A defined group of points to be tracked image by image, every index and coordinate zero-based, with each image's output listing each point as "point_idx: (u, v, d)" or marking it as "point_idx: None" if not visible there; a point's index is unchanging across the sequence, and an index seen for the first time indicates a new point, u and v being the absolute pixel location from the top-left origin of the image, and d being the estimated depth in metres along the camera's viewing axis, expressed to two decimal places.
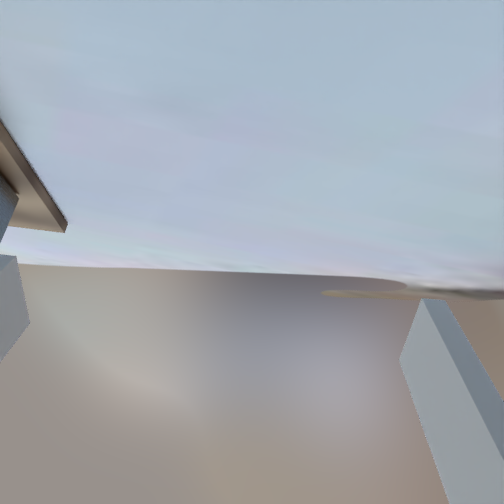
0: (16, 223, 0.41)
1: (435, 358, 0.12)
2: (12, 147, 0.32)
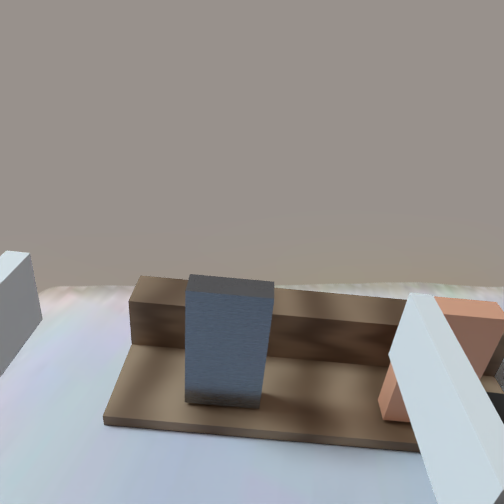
0: (128, 374, 0.37)
1: (421, 351, 0.12)
2: (254, 434, 0.34)
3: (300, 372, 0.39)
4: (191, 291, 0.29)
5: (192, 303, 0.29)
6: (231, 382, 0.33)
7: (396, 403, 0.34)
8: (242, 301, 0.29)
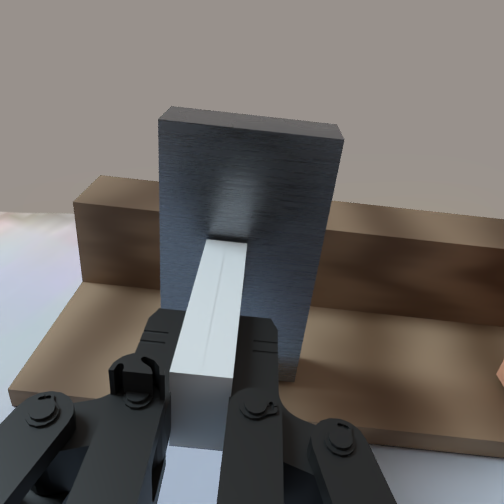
0: (69, 323, 0.22)
1: None
2: None
3: (356, 330, 0.23)
4: (169, 121, 0.14)
5: (173, 152, 0.14)
6: None
7: None
8: (277, 147, 0.14)
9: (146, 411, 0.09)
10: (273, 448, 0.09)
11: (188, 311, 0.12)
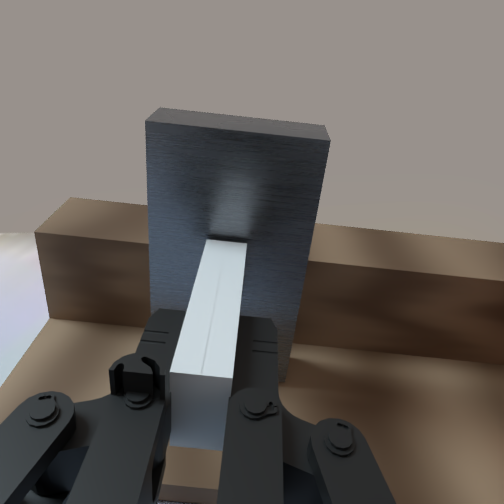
0: (29, 371, 0.19)
1: None
2: None
3: (358, 374, 0.21)
4: (156, 123, 0.14)
5: (160, 153, 0.14)
6: None
7: None
8: (264, 148, 0.14)
9: (146, 411, 0.09)
10: (273, 448, 0.09)
11: (188, 311, 0.12)
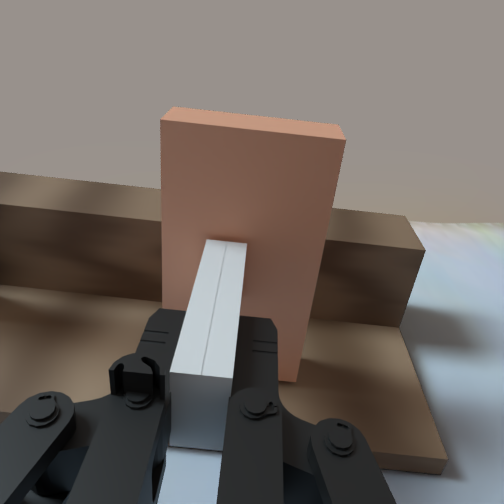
0: None
1: None
2: None
3: (55, 311, 0.22)
4: None
5: None
6: None
7: None
8: None
9: (146, 411, 0.09)
10: (273, 448, 0.09)
11: (188, 311, 0.12)
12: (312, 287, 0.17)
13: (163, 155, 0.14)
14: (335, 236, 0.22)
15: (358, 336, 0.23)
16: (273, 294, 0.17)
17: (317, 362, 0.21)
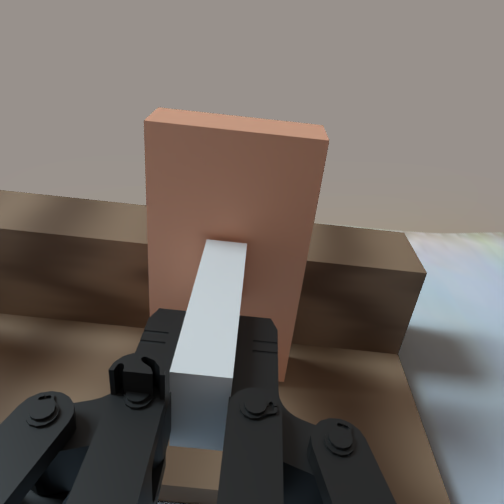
0: None
1: None
2: None
3: (24, 340, 0.20)
4: None
5: None
6: None
7: None
8: None
9: (146, 411, 0.09)
10: (273, 448, 0.09)
11: (188, 311, 0.12)
12: (298, 287, 0.17)
13: (147, 156, 0.14)
14: (329, 258, 0.20)
15: (354, 365, 0.21)
16: (259, 294, 0.17)
17: (309, 397, 0.19)
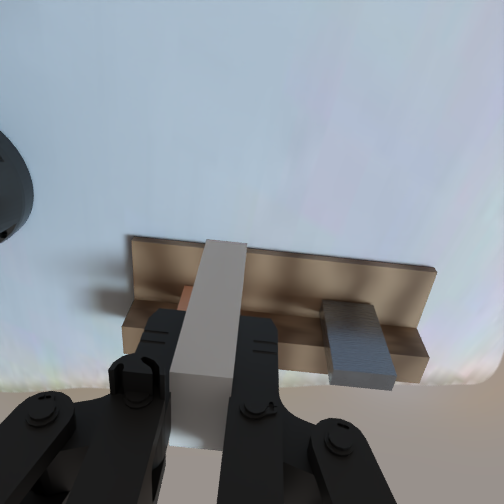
0: (419, 303, 0.50)
1: None
2: (331, 258, 0.48)
3: (289, 303, 0.51)
4: (392, 375, 0.40)
5: (389, 367, 0.41)
6: (345, 316, 0.48)
7: None
8: (354, 367, 0.41)
9: (146, 411, 0.09)
10: (273, 448, 0.09)
11: (188, 311, 0.12)
12: None
13: None
14: None
15: (154, 293, 0.51)
16: None
17: (174, 279, 0.50)
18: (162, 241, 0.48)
